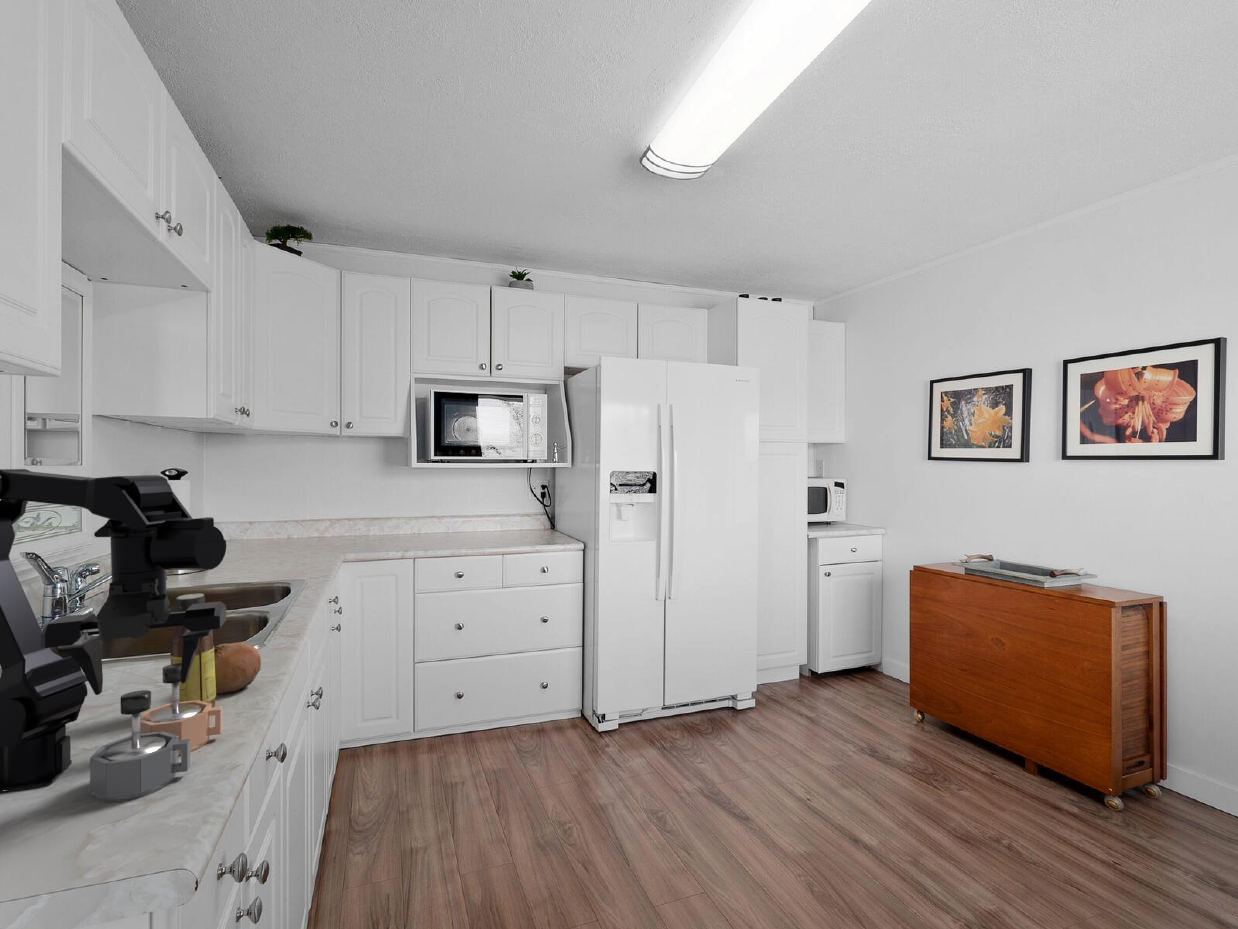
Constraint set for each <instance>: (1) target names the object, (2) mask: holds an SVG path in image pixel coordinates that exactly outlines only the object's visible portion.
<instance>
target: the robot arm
mask: <svg viewBox="0 0 1238 929" xmlns="http://www.w3.org/2000/svg"><path fill="white" fill-rule="evenodd" d="M28 502H33V503H42V504H50V505H52V504H53V505H60V506H71V507H77V508H78V507H79V508H82V509H85V510H87V511H89V512H90V513H91V514H92V515H94V516H98V517H101V518H104V519H108V520H107V521H106V523H104V525H103V526H101V527H100V528H98V529H97V530H96V531H95V532H94V534H93V535H94V537H95V538H110V568H111V570H110V571H111V574H110V576H111V582H109V587H108V594H107V599H106V601H105V602H104V603H103V604H102V606H101V608H100V610H99V611H98V613H97V615H96V613H95V612H94V613H85V614H84V613H82V614H75V615H64V616H60V617H58V618H57V619H55V620H52V621H51V622H50V623H48V624H46V625H45V626H44V627H43V628H41V626H40V624H39V622H38V620H37V618H36V617H37V616H36V614H35V612H34V610H33V607H32V605H31V604H30V601H29V599H28V597H27V595H26V592H25V590H24V588H23V586H22V584H21V581H20V580H19V577H18V574H17V572H16V570H15V568H14V566H13V563H12V562H11V559H10V554H11V550H12V548H13V544H14V541H15V538H16V534H15V530H14V527H13V526H14V524H15V523H16V522H18V520H19V519H20V518H21V517H23V516H24V515H25V513H26V510H27V503H28ZM214 521H215V519H214V517H211V516H209V517H208V516H207V517H199V518H193V517H192V516H191V514H190V513H189V511H188V510H187V509H186V507H185V506H184V505H183V503H182V502H181V501H180V500H179V498H178V497H177V495H176V494H175V493H174V491H173V489H172V487H171V485H170V483H169V482H168V479H167V478H165V477H164V476H161V475H159V474H158V475H157V474H154V475H153V474H152V475H151V474H148V475H143V474H142V475H117V476H116V475H115V476H106V477H105V476H104V477H89V476H88V477H87V476H78V475H70V474H59V473H49V472H39V471H31V470H28V469H26V468H18V469H17V468H9V469H8V468H7V469H6V468H5V469H3V468H2V469H0V669H1V674H0V791H3V790H10V791H15V790H22V789H29V788H37V787H43V786H44V787H45V786H49V785H51V784H52V783H54V782H55V781H56V780H57V779H58V778H59V777H60V776H61V775H62V774H63V773H64V772H65V771H66V770H67V769H68V768H69V767H70V766H71V765H72V764H73V763H72V761H73V760H72V759H71V754H72V753H71V736H70V735H67V725H66V724H70V723H73V722H76V721H77V720H78V718H79V715H80V712H81V710H82V706H83V705H84V703H85V699H86V697H87V696H88V695H89V694H88V687H87V683H86V682H88V684H89V686H90V687H91V690H92V692H93V693H94V695H95V696H98V695H100V694H102V692H103V683H104V682H103V681H104V678H103V677H104V676H103V675H104V674H103V659H102V658H103V656H102V644H101V643H102V642H112V641H115V640H118V639H128V638H129V639H130V638H131V639H139V638H143V637H145V636H146V635H148V634H149V632H150V630H151V629H152V630H153V629H163V628H171V627H176V626H182V625H185V628H187V629H188V630H187V631H186V632H185V634H184V635H183V636H182V639H183V653H182V663H181V683H185V682H186V680H187V677H188V674H189V672H190V669H191V666H192V663H193V660H194V657H195V655H196V652H197V649H198V647H199V645H200V643H201V641H202V639H203V637H205V636H208V635H210V634H211V632H212V633H213V631H214V630H217V629H221V628H222V626H223V625H224V624H225V623H226V621H227V607H226V606H227V605H226V604H225V603H224V602H223V601H211V602H210V601H209V602H204V603H198V604H192V605H191V606H190V607H189V608H188V609H187V610H186V611H182V612H178V611H172V612H171V603H170V599H169V597H168V594H167V580H168V573H167V571H195V570H196V571H201V570H202V571H205V570H206V571H207V570H208V571H210V570H214V569H215V568H217V567H219V565H220V564H221V563H222V562H223V561H224V558H225V555H226V551H227V541H226V540H227V539H225V537H224V534H223V532H222V531H221V530H220V529H219V528H217V527H216V526H215V522H214ZM101 641H102V642H101ZM51 648H55V652H56V653H55V652H53V651H52V650H51ZM63 653H65V654H66V655H68V656H66V657H62V656H60V655H59V654H63ZM3 792H4V791H3Z"/></svg>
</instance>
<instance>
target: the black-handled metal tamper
mask: <svg viewBox="0 0 1238 929" xmlns="http://www.w3.org/2000/svg"><path fill="white" fill-rule="evenodd" d="M188 678H189V674H188V677H187V679H188ZM179 682H181V663H176V664H171V663H170V664H167V665H165V666H163V667H162V683H163V684H171V683H172V685H171V703H172V707H168V708H164V709H161V710H159V711H157V712H154V713H153V714H151V715H150V717H149V722H153V723H161V722H170V721H178V720H182V719H185V718H188V717H191V716H193V715H196V714H199V713H201V707H200V706H199V705H194V704H186V705H179Z"/></svg>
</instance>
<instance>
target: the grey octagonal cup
mask: <svg viewBox="0 0 1238 929" xmlns="http://www.w3.org/2000/svg"><path fill="white" fill-rule="evenodd" d="M142 737H162V738H164V739H165V740H166V746H165V747H164V748H162V749H159V750H157V751H154V752H152V753H149V754H147V755H144V756H142V757H137V758H130V759H123V760H115V761H109V760H106V759H105V752H106V751H107V750H108V749H110V748H111V747H113V746H115V745H117V744H120V743H122V742H125V741H129V740H132V734H131V735H128V736H125V737H123V738H120V739H117V740H115V741H112V742H111V741H110V742H108V743H106V744H102V745H101V746H100V747H99V748H98V749H97V750H96V751H95V752H94V753H93V754H92V755H91V757H90V758H89V792H90V793H91V794H93V799H95V800H97V801H99V802H104V803H105V802H106V803H114V802H116V803H117V802H123V801H130V800H134V799H138V798H142V797H145V796H147V795H150V794H152V793H154V792H157V791H159V790H161V789H163V788H165V787H166V786H168V785H170V784H171V783H172V782H173V781H174V779H175V778H176V775H177V774H176V773H184V772H188V771H189V769H191V752H190V739H186V740H180V741H178V736H177V735H173V734H170V733H167V732H163V731H161V732H153V733H145V734H140V738H142ZM178 750H181V755H180V758H181V759H180V760H181V762H179V756H178Z"/></svg>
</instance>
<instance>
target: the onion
mask: <svg viewBox="0 0 1238 929" xmlns="http://www.w3.org/2000/svg"><path fill="white" fill-rule="evenodd" d="M214 660H215V682H216V693H218V694H227V693H228V694H229V693H233V692H235V691H240V690H241V689H242V690H244V689H246V688H247V687H248V686H249V685H251V684H252V683H253V682H254V681H255V679H256V678H257V675H258V674H259V673H260V671H261V666H262V665H261V664H262V659H261V654H260V653H259V650H258V649H257V648H256V647H255V646H254V645H252V644H250V643H248V642H244V641H240V642H239V641H238V642H231V643H220V644H218V645H215V646H214ZM242 690H241V691H242Z"/></svg>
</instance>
